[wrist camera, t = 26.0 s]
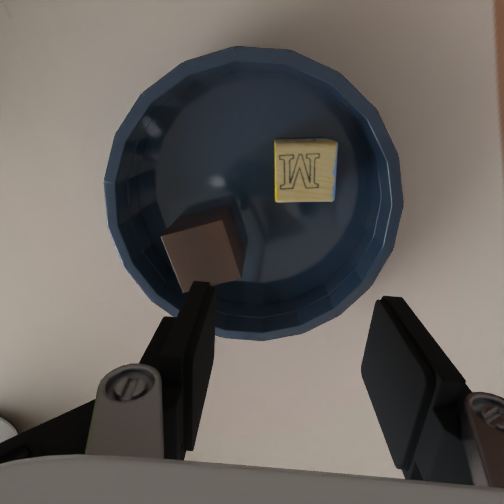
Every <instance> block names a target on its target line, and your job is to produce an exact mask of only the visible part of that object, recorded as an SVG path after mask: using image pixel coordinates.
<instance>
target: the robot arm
mask: <svg viewBox="0 0 504 504" xmlns="http://www.w3.org/2000/svg"><path fill="white" fill-rule="evenodd" d="M215 314H216V287H213V286H211V283H210V282H204V281H193V283H192V285H191V287H190V289H189V292H188V294H187V296H186V298H185V300H184V302H183V305H182V307H181V309H180V311H179V313H178V315H177V317H164V318H163V319H162V321H161V323H160V324H159V326H158V328H157V330H156V332H155V334H154V336H153V338H152V340H151V341H150V343H149V345H148V347H147V349H146V351H145V353H144V355H143V356H142V358H141V360H140V362H139V364H128V365H123V366H120V367H118V368H116V369H114V370H112V371H111V372H109V373H108V374H106V375H105V376H104V378H103V379H102V380H101V381H100V384H99V386H98V389H97V394H96V399H94V400H92V401H90V402H88V403H86V404H84V405H81V406H79V407H77V408H75V409H73V410H71V411H68V412H66V413H64V414H62V415H60V416H58V417H55V418H53V419H51V420H49V421H47V422H44V423H42V424H40V425H38V426H36V427H34V428H31V429H29V430H27V431H25V432H23V433H21V434H18V435H16V436H14V437H12V438H10V439H7V440H5V441H3V442H1V443H0V504H504V398H502V397H499V396H496V395H493V394H490V393H485V392H473V393H472V392H471V390H470V389H469V388H468V386H467V385H466V384H465V382H466V380H465V379H464V378H463V376H462V375H461V374H460V373H459V371H458V370H457V369H456V367H455V366H454V365H453V363H452V362H451V361H450V359H449V358H448V357H447V356H446V354H445V353H444V352H443V350H442V349H441V348H440V346H439V345H438V344H437V342H436V341H435V340H434V338H433V337H432V336H431V335H430V333H429V332H428V331H427V329H426V328H425V327H424V325H423V324H422V323H421V321H420V320H419V319H418V318H417V316H416V315H415V314H414V312H413V311H412V310H411V308H410V307H409V306H408V304H407V303H406V302H405V301H404V299H403V298H402V297H392V296H383V297H382V299H381V300H377V301H376V303H375V306H374V311H373V315H372V320H371V324H370V329H369V334H368V338H367V343H366V347H365V352H364V356H363V361H362V365H361V374H362V378H363V380H364V383H365V386H366V389H367V391H368V394H369V397H370V399H371V402H372V405H373V407H374V410H375V413H376V416H377V418H378V421H379V424H380V426H381V429H382V432H383V434H384V437H385V440H386V443H387V445H388V448H389V451H390V453H391V456H392V459H393V461H394V464H395V466H396V468H397V469H402V471H403V474H404V477H405V479H397V478H386V477H375V476H364V475H352V474H341V473H329V472H318V471H306V470H295V469H283V468H271V467H259V466H246V465H234V464H222V463H210V462H197V461H185V460H184V458H185V453H186V450H187V451H193V449H194V445H195V441H196V437H197V432H198V428H199V423H200V419H201V414H202V410H203V406H204V401H205V397H206V392H207V388H208V383H209V379H210V375H211V370H212V366H213V360H214V343H215Z"/></svg>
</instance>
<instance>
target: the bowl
mask: <svg viewBox="0 0 504 504" xmlns="http://www.w3.org/2000/svg"><path fill="white" fill-rule="evenodd" d="M305 138H330V139H332V140H334V141H336V142H338V152H337V169H336V189H335V199H334V201H332V202H275V156H274V140H275V139H305ZM104 192H105V203H106V215H107V226H108V229H109V232H110V234H111V237H112V239H113V241H114V244H115V246H116V249H117V251H118V254H119V256H120V258H121V261H122V263H123V266H124V267H125V269H126V270H127V272H128V273H129V274H130V275H131V276H132V278H133V279H134V280H135V281H136V283H137V284H138V285H139V286H140V288H141V289H142V290H143V291H144V293H145V294H146V295H147V296H148V298H149V299H150V300H151V301H152V302H154V303H155V304H156V305H158V306H159V307H161V308H162V309H164V310H165V311H166V312H168V313H169V314H171V315H172V316H173V317H177V315H178V313H179V311H180V309H181V307H182V305H183V302H184V300H185V298H186V296H187V294H188V292H189V291H188V292H184V293H183V292H182V289H181V287H180V284H179V282H178V279H177V277H176V274H175V272H174V269H173V267H172V264H171V262H170V259H169V257H168V254H167V252H166V249H165V247H164V244H163V242H162V239H161V235H162V234H163V233H164V232H165V231H166V230H167V229H168V228H169V227H170V226H171V225H172V223H173V222H174V221H175V220H176V219H178V218H182V217H185V216H189V215H193V214H196V213H200V212H203V211H207V210H211V209H214V208H218V207H221V206H225V205H230V208H231V211H232V214H233V217H234V220H235V224H236V227H237V230H238V233H239V236H240V239H241V242H242V246H243V249H244V252H245V261H244V267H243V273H242V278H241V279H237V280H233V281H229V282H225V283H221V284H217V285H213V287H216V314H215V335H216V336H219V337H223V338H231V339H243V340H256V341H262V340H263V341H266V340H271V339H277V338H282V337H287V336H293V335H298V334H302V333H305V332H307V331H309V330H311V329H313V328H315V327H317V326H319V325H321V324H323V323H325V322H327V321H329V320H331V319H333V318H335V317H337V316H339V315H341V314H342V313H343V312H344V311H345V310H346V309H347V308H348V307H349V306H351V305H352V304H353V303H354V302H355V301H356V300H357V299H358V298H359V297H360V296H361V295H363V294H364V293H365V292H366V291H367V290H368V289H369V288H370V286H372V284H373V283H374V281H375V279H376V278H377V276H378V274H379V272H380V271H381V269H382V267H383V266H384V264H385V262H386V261H387V259H388V257H389V256H390V254H391V252H392V251H393V248H394V244H395V240H396V235H397V231H398V227H399V222H400V218H401V213H402V209H403V203H404V202H403V192H402V182H401V172H400V163H399V157H398V153H397V151H396V149H395V147H394V145H393V142H392V140H391V138H390V136H389V134H388V132H387V130H386V127H385V125H384V123H383V121H382V119H381V117H380V115H379V113H378V111H377V109H376V108H375V107H374V106H373V105H372V104H371V103H370V102H369V101H368V100H367V99H366V98H365V97H364V96H363V95H362V94H361V93H360V92H359V91H358V90H357V89H356V88H355V87H354V86H353V85H352V84H351V83H350V82H349V81H348V80H347V79H346V78H345V77H344V76H343V75H342V74H341V73H339V72H338V71H336V70H334V69H331V68H329V67H327V66H325V65H323V64H320V63H318V62H316V61H314V60H312V59H310V58H307V57H305V56H303V55H301V54H299V53H296V52H294V51H292V50H288V49H274V48H259V47H244V46H236V47H234V46H233V47H230V48H227V49H223V50H220V51H217V52H213V53H210V54H207V55H203V56H200V57H197V58H193V59H190V60H187V61H184V62H182V63H181V64H179V65H178V66H177V67H175V68H174V69H173V70H172V71H170V72H169V73H168V74H166V75H165V76H164V77H162V78H161V79H160V80H158V81H157V82H156V83H154V84H153V85H152V86H150V87H149V88H148V89H146V90H145V91H144V92H143V94H141V95H140V96H139V98H138V99H137V101H136V103H135V104H134V106H133V107H132V109H131V110H130V112H129V113H128V115H127V117H126V118H125V120H124V121H123V123H122V124H121V126H120V127H119V129H118V131H117V132H116V134H115V136H114V140H113V144H112V149H111V153H110V157H109V161H108V165H107V170H106V174H105V178H104Z"/></svg>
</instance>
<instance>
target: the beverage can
mask: <svg viewBox="0 0 504 504" xmlns="http://www.w3.org/2000/svg"><path fill="white" fill-rule="evenodd" d="M16 435H18V433H17V431H16V429H15V428H14V427H13V426H12V425H11V424H10V423H9V422H8V421H6V420H5V419H3V418H1V417H0V443H1V442H3V441H5V440H7V439H10V438H12V437H14V436H16Z"/></svg>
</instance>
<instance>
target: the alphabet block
mask: <svg viewBox="0 0 504 504" xmlns="http://www.w3.org/2000/svg"><path fill="white" fill-rule="evenodd" d="M337 152H338V142H336V141H334V140H332V139H330V138H305V139H275V140H274V156H275V202H332V201H334V199H335V189H336V169H337Z"/></svg>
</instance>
